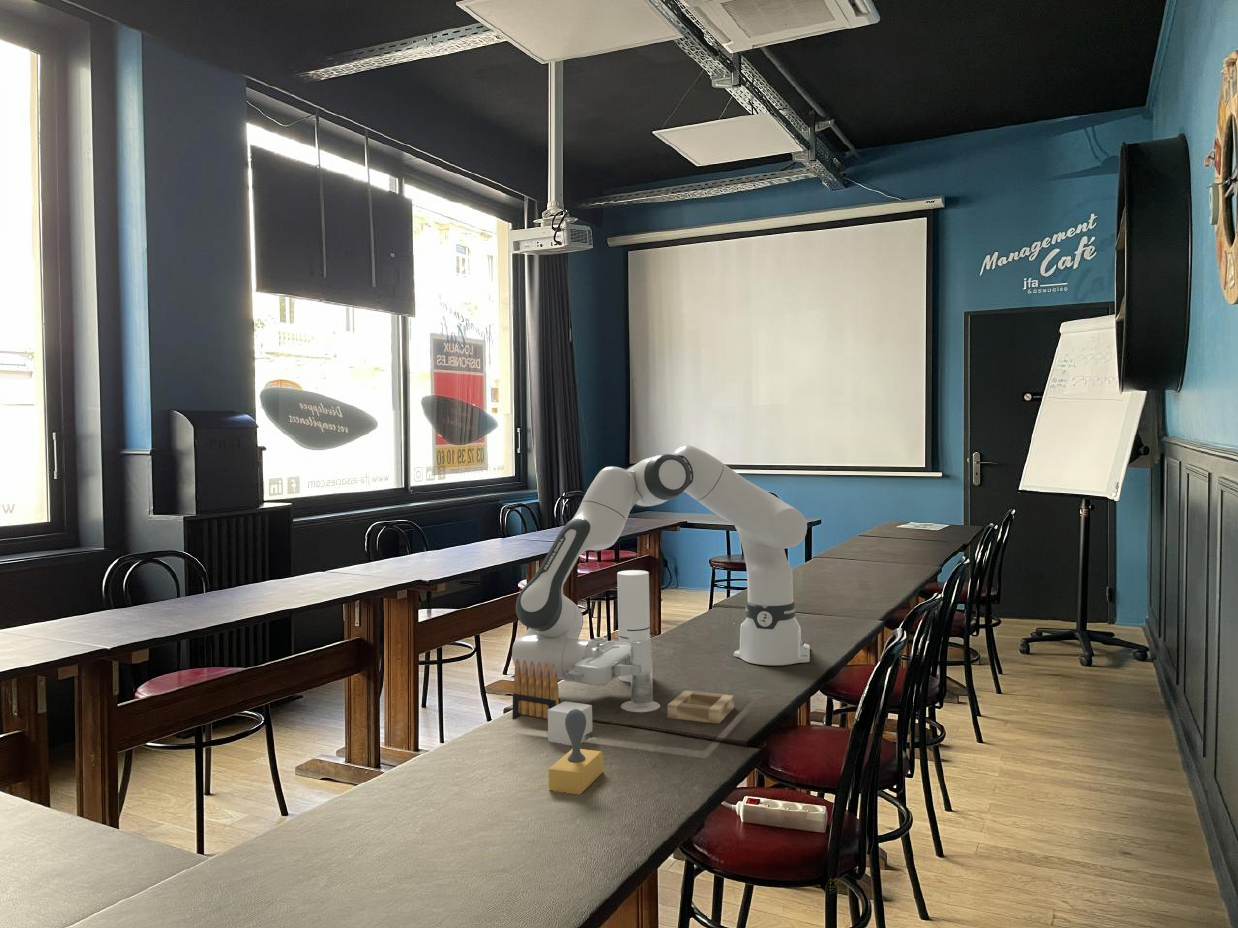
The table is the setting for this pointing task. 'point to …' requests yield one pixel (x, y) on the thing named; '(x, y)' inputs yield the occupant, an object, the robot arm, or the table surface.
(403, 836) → the table surface
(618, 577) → the cylindrical container
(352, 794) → the table surface
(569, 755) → the rubber stamp
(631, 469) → the robot arm
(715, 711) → the beige wooden square frame
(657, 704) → the stand disc
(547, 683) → the ammunition clip
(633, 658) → the clear glass tube
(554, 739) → the light grey cube
